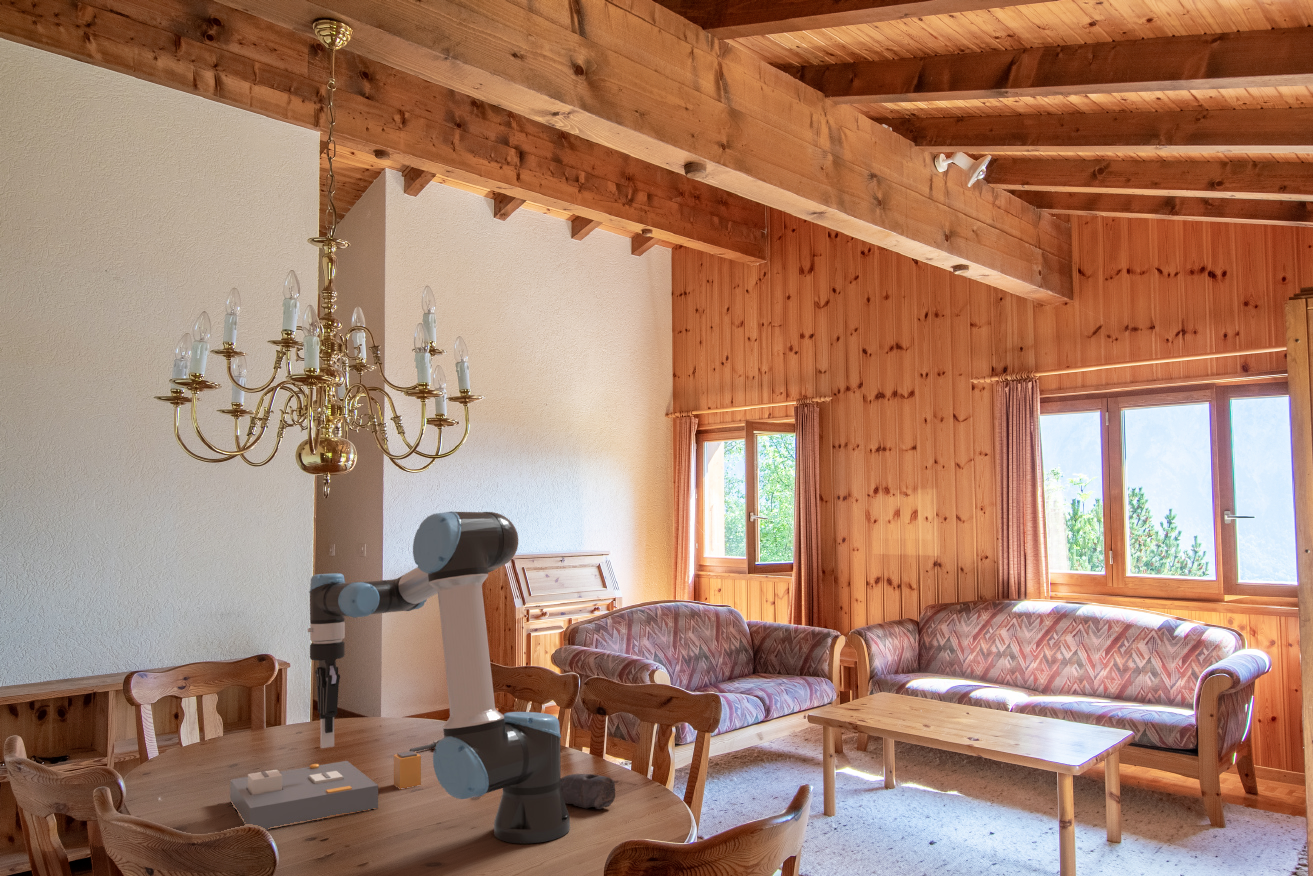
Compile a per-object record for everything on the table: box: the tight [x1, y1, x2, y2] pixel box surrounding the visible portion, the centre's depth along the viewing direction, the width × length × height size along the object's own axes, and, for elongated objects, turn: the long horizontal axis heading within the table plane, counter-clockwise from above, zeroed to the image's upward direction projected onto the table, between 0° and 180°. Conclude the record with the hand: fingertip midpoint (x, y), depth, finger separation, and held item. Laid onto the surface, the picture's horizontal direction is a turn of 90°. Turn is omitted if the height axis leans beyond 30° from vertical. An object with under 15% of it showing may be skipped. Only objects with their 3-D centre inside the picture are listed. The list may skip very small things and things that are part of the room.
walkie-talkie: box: [408, 739, 441, 752], centre depth 251 cm, size 9×4×20 cm
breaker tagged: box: [309, 771, 343, 784], centre depth 206 cm, size 6×6×5 cm
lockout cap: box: [393, 751, 422, 790], centre depth 217 cm, size 5×5×7 cm
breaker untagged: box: [247, 769, 282, 795], centre depth 199 cm, size 6×6×5 cm
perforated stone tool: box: [561, 773, 616, 810], centre depth 198 cm, size 15×5×7 cm, turn 56°
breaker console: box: [229, 760, 379, 831], centre depth 203 cm, size 26×26×6 cm
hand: (327, 746), depth 206 cm, fingers closed
